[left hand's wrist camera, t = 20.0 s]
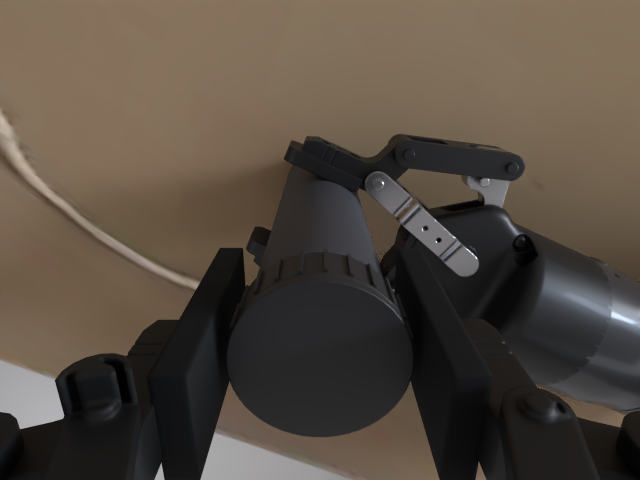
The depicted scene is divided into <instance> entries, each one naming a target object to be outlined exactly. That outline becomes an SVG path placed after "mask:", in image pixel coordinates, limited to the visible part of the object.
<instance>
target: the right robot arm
mask: <svg viewBox="0 0 640 480" xmlns="http://www.w3.org/2000/svg"><path fill="white" fill-rule="evenodd" d="M284 159H285V160H286V161H287V162H289V163H291V164H293V165H295V166H297V167H300V168H302V169H304V170H306V171H309V172H311V173H313V174H315V175H318V176H320V177H322V178H324V179H327V180H329V181H331V182H333V183H336V184H338V185H341V186H342V187H345V188H347V189H349V190H351V191H354V192H356V193H357V191H358V189H359V188H360V189H362V190H365V191H367V193H368V194H369V195H371V196H372V197H373V198H374V199H375V200H376V201H377V202H378V203H380V204H381V205H382V206H383V207H384V208H385V209H386V210H388V211H389V212H390V213H391V214H392V215H393V216H394V217H395V218H396V219H397V220H398V221H399V222H400V223H401V226H400V227H399V229H398V233H397V237H396V241H395V244H394V245H393V246H392V247H391V248H390V249H389V251H388V252H387V253H386V254H385V255H384V257H383V258H382V260H381V261H378V262H379V265H380V268H381V271H382V275H383V278H385V277H387V278H388V280H389V283H390V286H391V288H392V289H393V291H394V287H395V273H396V259H397V248H420V249H421V251H422V253H423V254H424V256H425V258H426V260H427V261H428V263H429V265H430V267H431V268H432V270H433V272H434V274H435V275H436V277H437V279H438V281H439V282H440V284H441V286H442V288H443V289H444V291H445V293H446V295H447V296H448V298H449V300H450V302H451V303H452V305H453V307H454V309H455V310H456V312H457V314H458V316H459V317H460V319H483V320H485V321H486V322H487V323H489V324H490V325H492V326H493V327H494V328H496V329H497V330H498V332H499V333H500V335H501V336H502V337H503V339H504V340H505V344H507V345H508V346H509V348H510V349H511V350H512V354H514V355H515V356H516V358H517V359H518V361H519V362H520V364H521V365H522V366H523V368H524V369H525V371H526V372H527V374H528V375H529V377H530V378H531V379H532V381H533V382H534V384H536V385H539V386H541V387H544V388H546V389H549V390H551V391H554V392H556V393H559V394H561V395H564V396H567V397H570V398H573V399H576V400H579V401H583V402H587V403H592V404H596V405H600V406H604V407H606V408H609V409H611V410H614V411H616V412H619V413H621V414H624V415H627V414H628V413H630V412H633V411H639V410H640V283H639V282H638V281H636V280H635V279H633V278H631V277H629V276H627V275H625V274H623V273H621V272H619V271H617V270H615V269H613V268H611V267H610V266H609V265H607V264H606V263H605V262H603V261H601V260H598V259H595V258H592V257H590V258H589V257H587V256H585V255H583V254H580V253H578V252H576V251H574V250H572V249H570V248H567V247H565V246H563V245H561V244H559V243H557V242H554V241H552V240H550V239H548V238H546V237H543V236H541V235H539V234H537V233H535V232H533V231H530V230H528V229H526V228H524V227H522V226H520V225H517V224H515V223H514V222H513V221H512V219H511V218H510V216H509V214H508V213H507V212H506V211H505V210H504V209H503V208H502V206H503V203H504V199H505V196H506V193H507V189H508V186H509V182H510V181H513V180H516V179H518V178H519V177H520V176H521V175H522V174H523V172H524V169H525V163H524V160H523V159H522V158H521V157H520V156H518V155H515V154H513V153H511V152H508V151H506V150H503V149H501V148H499V147H496V146H488V145H481V144H473V143H465V142H458V141H450V140H442V139H435V138H427V137H419V136H412V135H404V134H397V135H395V136H393V137H392V138H391V139H390V140H389V142H388V145H387V146H386V147H385V148H384V149H383V150H382V151H381V152H380V153H379V154H377V155H376V156H374V157H370V158H365V157H361V156H359V155H357V154H355V153H352V152H350V151H348V150H346V149H344V148H342V147H339V146H337V145H335V144H333V143H331V142H328V141H326V140H324V139H322V138H320V137H314V136H307V137H306V139H305V142H304V144H301V143H299V142H296V141H291V143H290V145H289V148H288V150H287V152H286V155H285V157H284ZM408 168H410V169H418V170H426V171H434V172H442V173H450V174H458V175H461V178H462V181H463V182H464V184H466V185H467V186H468V187H470V188H471V189H472V190H475V191H477V192H478V200H473V201H467V202H462V203H457V204H452V205H447V206H442V207H437V208H432V209H430V208H428V207H427V206H426V205H425V204H424V203H423V202H422V201H421V200H420V199H418V198H417V197H416V196H415V195H414V194H413V193H412V192H411V191H410V190H409V189H407V188H406V187H405V186H403V185H402V184H401V183H400V182H399V181H398V180H397V179H398V178H399V177H400V176H401V175H402V174H403V173H404V172H405V171H406V170H407V169H408ZM270 233H271V231H270V230H267V229H265V228H262V227H255V228H254V230H253V232H252V235H251V237H250V240H249V242H248V244H247V247H246V250H247V251H248V252H249V253H251V254H253V255H255V258H254V262H255V263H256V264H257V265H258V266H261V262H262V259H263V256H264V253H265V250H266V246H267V243H268V240H269V237H270Z"/></svg>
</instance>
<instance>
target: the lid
mask: <svg viewBox="0 0 640 480" xmlns="http://www.w3.org/2000/svg"><path fill="white" fill-rule="evenodd" d="M407 320H408V318H407V316H406V313H405V310H404V307H403V304H402V302H401V299H400V296H399V294H396V295H395V293H394V291H393V289H392V288H391V286H390V283H389V280H388V278H387V277H385V278H383V277H382V276H381V275H380V274H379V273H378V272H377V271H375V270H374V269H373V268H372V265H371V264H370V263H368V264H365V263H363V262H361V261H359V260H357V259H354V258H352V257H351V255H350V254H347V256H345V255H341V254H337V253H329V252H328V250H324V252H311V253H304V251H302V252H300V254H299V255H295V256H291V257H289V258H286V259H283V260H282V258H280V259H278V261H277V263H275V264H274V265H272V266H270V267H269V268H268V269H266V270H265V271H263V270H261V271H259V274H258V277H257V278H256V279H255V280H254V281H253V283H252V284H251V285H250V286H248V285H247V286H246V287H245V290H244V293H243V296H242V298H241V301H240V304H239V303H238V304H237V307H236V310H235V312H234V315H233V318H232V321H231V324H230V326H229V330H230V331H231V333H230V336H229V339H228V343H227V346H226V367H227V373H228V377H229V380H230V383H231V385H232V387H233V390H234V391H235V393H236V395H237V396H238V398H239V399H240V401H241V402H242V403H243V404H244V405H245V407H246V408H247V409H248V410H249V411H251V412H252V413H253V414H254V415H255V416H257V417H258V418H259V419H261V420H262V421H264V422H265V423H267V424H269V425H271V426H273V427H275V428H277V429H280V430H282V431H285V432H288V433H292V434H296V435H301V436H309V437H331V436H339V435H344V434H349V433H352V432H355V431H358V430H361V429H363V428H365V427H367V426H370V425H371V424H373V423H375V422H376V421H378V420H380V419H381V418H382V417H384V416H385V415H386V414H388V413H389V412H390V411H391V410H392V409H393V408H394V407H395V406H396V404H397V403H398V402H399V401H400V399H401V398H402V396H403V395H404V393H405V391H406V390H407V388H408V385H409V383H410V380H411V377H412V373H413V369H414V348H413V344H412V340H414V339H413V335H412V332H411V329H410V326H409V323H408V321H407Z"/></svg>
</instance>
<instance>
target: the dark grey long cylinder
mask: <svg viewBox="0 0 640 480" xmlns="http://www.w3.org/2000/svg"><path fill="white" fill-rule="evenodd" d="M324 250H328V252H329V253H337V254H341V255H345V256H347V254H350V255H351V257H352V258H354V259H357V260H359V261H361V262H363V263H365V264H368V263H370V264H371V265H372V268H373V269H374V270H375V271H377V272H378V273H379V274H380V275H381V276H382V277H383V275H382V271H381V268H380V265H379V262H378V259H377V255H376V252H375V249H374V246H373V242H372V239H371V236H370V233H369V229H368V226H367V223H366V220H365V216H364V213H363V210H362V207H361V204H360V200H359V197H358V194H357V193H356V192H354V191H351V190H349V189H347V188H345V187H342V186H341V185H338V184H336V183H333V182H331V181H329V180H327V179H324V178H322V177H320V176H318V175H315V174H313V173H311V172H309V171H306V170H304V169H302V168H300V167H297V166H295V165H294V166H293V167H292V169H291V171H290V173H289V176H288V179H287V182H286V185H285V188H284V192H283V195H282V198H281V201H280V204H279V208H278V211H277V214H276V217H275V221H274V224H273V227H272V230H271V233H270V237H269V240H268V243H267V246H266V250H265V253H264V256H263V259H262V262H261V266H260V269H259V271H261V270H263V271H265V270H266V269H268V268H269V267H270V266H272V265H274V264H275V263H277V261H278V259H280V258H282V260H283V259H286V258H289V257H291V256H295V255H299V254H300V252H302V251H304V253H311V252H324ZM258 274H259V272H258ZM257 277H258V275H257Z"/></svg>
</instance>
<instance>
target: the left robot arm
mask: <svg viewBox="0 0 640 480" xmlns="http://www.w3.org/2000/svg"><path fill="white" fill-rule="evenodd" d="M244 290H245V273H244V259H243V248H220V249H219V251H218V253H217V254H216V256H215V258H214V260H213V261H212V263H211V265H210V267H209V268H208V270H207V272H206V274H205V275H204V277H203V279H202V281H201V282H200V284H199V286H198V288H197V289H196V291H195V293H194V295H193V296H192V298H191V300H190V302H189V303H188V305H187V307H186V309H185V310H184V312H183V314H182V316H181V317H180V319H179V320H157V321H156V322H155V323H153V324H152V325H150V326H149V327H148V328H146V329H145V330H143V332H142V333H141V335H140V336H139V338H138V339H137V341H136V342H135V345H133V346H132V348H131V349H130V351H129V352H128V356H126V357H125V356H123V355H119V354H115V353H110V354H98V355H94V356H90V357H86V358H84V359H82V360H80V361H77V362H75V363H73V364H71V365H70V366H69V367H67V368H66V369H65V370H63V371H62V372H61V373H60V374H59V376H58V377H57V378H56V380H55V382H56V386H57V390H58V393H59V397H60V401H61V405H62V408H63V412H64V418H63V419H61V420H58V421H54V422H50V423H46V424H42V425H37V426H33V427H28V428H24V429H20V428H19V425H18V422H17V419H16V418H15V417H14V416H12V415H11V414H9V413H3V412H0V480H154V479H155V477H156V474H157V472H158V469H159V467H160V464H161V462H162V468H163V473H164V479H165V480H200V479H201V475H202V472H203V469H204V465H205V462H206V458H207V455H208V452H209V448H210V445H211V441H212V438H213V435H214V431H215V428H216V425H217V421H218V418H219V414H220V411H221V408H222V404H223V401H224V397H225V394H226V391H227V387H228V384H229V377H228V373H227V367H226V346H227V343H228V339H229V336H230V333H231V331H230V330H229V326H230V324H231V321H232V318H233V315H234V312H235V310H236V307H237V304H238V303H239V304H240V301H241V298H242V296H243V293H244ZM394 293H395V295H396V294H399V296H400V299H401V302H402V304H403V307H404V310H405V313H406V316H407V318H408V320H407V321H408V323H409V326H410V329H411V332H412V335H413V339H414V340H412V344H413V348H414V369H413V373H412V377H411V384H412V387H413V391H414V394H415V397H416V401H417V404H418V408H419V411H420V414H421V418H422V421H423V425H424V428H425V431H426V435H427V438H428V442H429V445H430V448H431V452H432V455H433V458H434V462H435V465H436V469H437V472H438V475H439V479H440V480H475V479H476V473H477V468H478V462H480V465H481V467H482V470H483V472H484V475H485V477H486V479H487V480H640V410H639V411H633V412H630V413H628V414H627V415H626V416H625V417H624V419H623V422H622V425H621V428H620V427H615V426H611V425H606V424H602V423H598V422H593V421H589V420H585V419H582V418H578V417H576V415H575V413H574V412H573V410H572V409H571V407H570V406H569V405H568V404H567V403H566V402H564V401H563V400H562V399H561V398H560V397H558V396H556V395H554V394H552V393H550V392H548V391H546V390H543V389H539V388H537V387H536V385H535V384H534V382H533V381H532V379H531V378H530V377H529V375H528V374H527V372H526V371H525V369H524V368H523V366H522V365H521V364H520V362H519V361H518V359H517V358H516V356H515V355H514V354H512V350H511V349H510V348H509V346H508V345H507V344H505V340H504V339H503V337H502V336H501V335H500V333H499V332H498V330H497V329H496V328H494V327H493V326H492V325H490V324H489V323H487V322H486V321H485V320H483V319H460V317H459V316H458V314H457V312H456V310H455V309H454V307H453V305H452V303H451V302H450V300H449V298H448V296H447V295H446V293H445V291H444V289H443V288H442V286H441V284H440V282H439V281H438V279H437V277H436V275H435V274H434V272H433V270H432V268H431V267H430V265H429V263H428V261H427V260H426V258H425V256H424V254H423V253H422V251H421V249H420V248H397V259H396V273H395V287H394Z"/></svg>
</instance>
